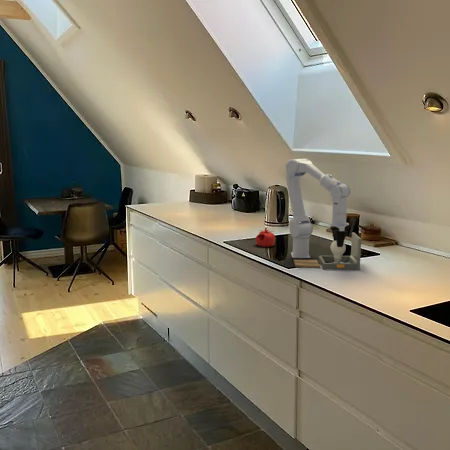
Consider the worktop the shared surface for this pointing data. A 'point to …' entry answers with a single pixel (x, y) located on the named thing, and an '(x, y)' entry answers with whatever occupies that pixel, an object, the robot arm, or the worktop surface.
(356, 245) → the case
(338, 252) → the lightbulb
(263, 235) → the pomegranate
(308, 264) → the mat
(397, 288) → the worktop surface
